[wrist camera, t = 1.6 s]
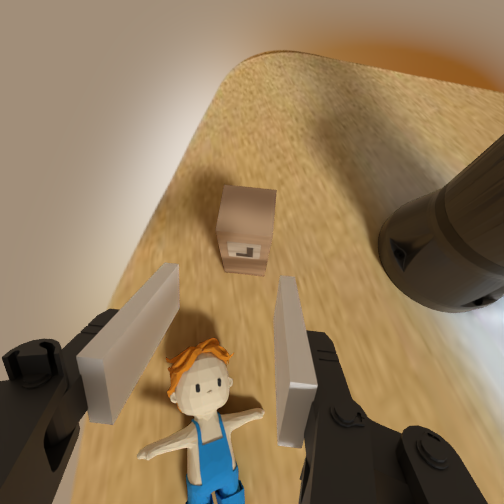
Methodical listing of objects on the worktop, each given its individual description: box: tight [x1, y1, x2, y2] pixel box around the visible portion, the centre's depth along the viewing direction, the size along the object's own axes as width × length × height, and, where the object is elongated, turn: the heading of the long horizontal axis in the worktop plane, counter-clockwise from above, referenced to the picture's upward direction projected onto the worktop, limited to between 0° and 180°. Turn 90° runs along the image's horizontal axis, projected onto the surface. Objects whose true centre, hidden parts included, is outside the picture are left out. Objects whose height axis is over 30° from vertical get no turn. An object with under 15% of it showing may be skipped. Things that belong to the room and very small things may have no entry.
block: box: [216, 185, 277, 276], centre depth 28 cm, size 5×5×11 cm
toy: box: [137, 338, 265, 504], centre depth 24 cm, size 12×6×15 cm
